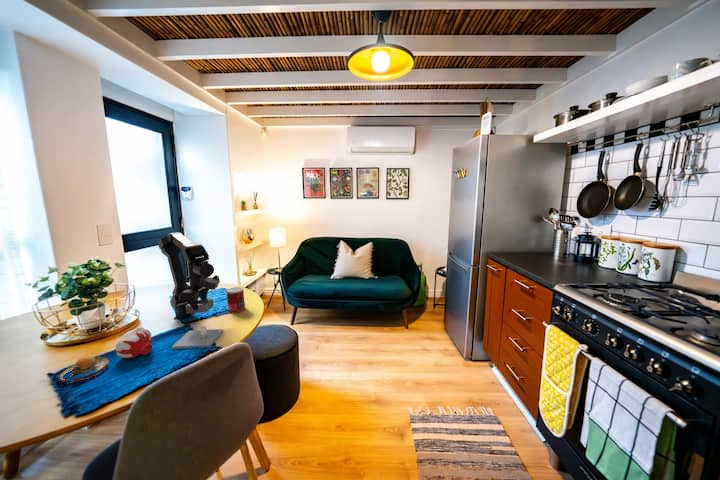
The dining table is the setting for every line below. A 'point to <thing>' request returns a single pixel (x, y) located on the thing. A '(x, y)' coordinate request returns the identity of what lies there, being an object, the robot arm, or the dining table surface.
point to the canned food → (235, 299)
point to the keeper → (198, 338)
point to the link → (201, 306)
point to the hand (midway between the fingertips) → (200, 306)
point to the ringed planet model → (86, 367)
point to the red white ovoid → (134, 343)
